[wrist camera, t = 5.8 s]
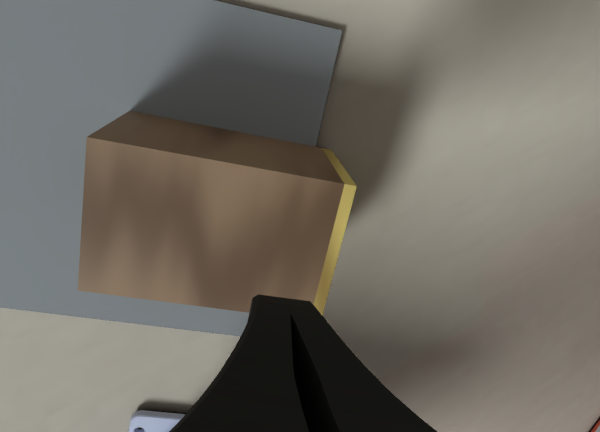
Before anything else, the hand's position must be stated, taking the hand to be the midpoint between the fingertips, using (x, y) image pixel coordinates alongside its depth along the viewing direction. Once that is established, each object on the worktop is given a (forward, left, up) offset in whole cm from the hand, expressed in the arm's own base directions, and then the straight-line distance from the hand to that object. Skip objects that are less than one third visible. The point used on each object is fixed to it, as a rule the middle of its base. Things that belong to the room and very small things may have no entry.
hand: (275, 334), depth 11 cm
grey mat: (0, +5, -10) cm, 11 cm away
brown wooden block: (0, -2, -7) cm, 7 cm away
